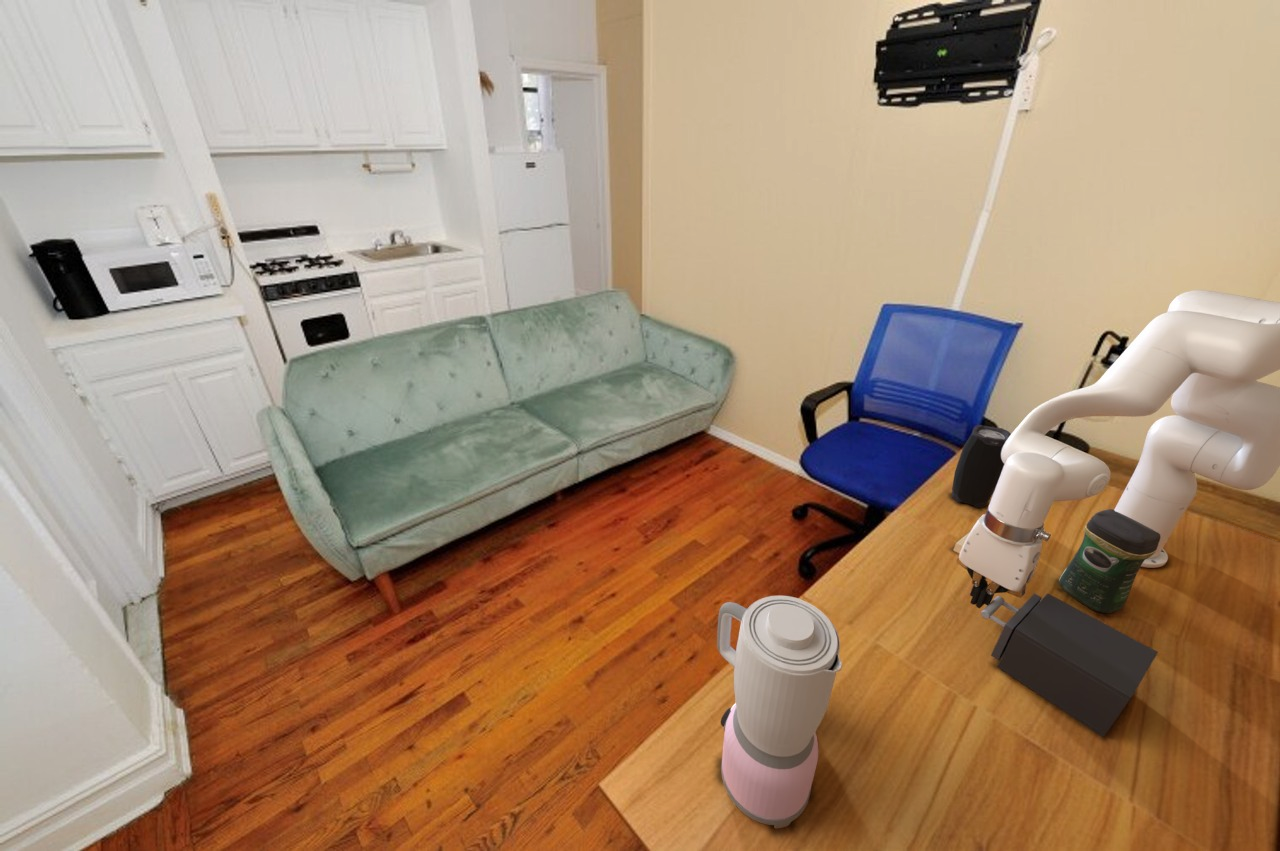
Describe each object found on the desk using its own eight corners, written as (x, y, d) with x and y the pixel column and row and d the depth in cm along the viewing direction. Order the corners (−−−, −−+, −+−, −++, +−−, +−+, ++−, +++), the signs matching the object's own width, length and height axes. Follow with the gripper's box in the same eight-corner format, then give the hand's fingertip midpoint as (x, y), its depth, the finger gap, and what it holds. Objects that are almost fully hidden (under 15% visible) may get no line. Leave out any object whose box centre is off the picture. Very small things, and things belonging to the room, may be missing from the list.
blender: (826, 780, 71) (870, 622, 56) (779, 854, 64) (816, 696, 48) (734, 704, 81) (751, 553, 66) (685, 761, 74) (691, 605, 58)
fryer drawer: (965, 638, 90) (978, 608, 86) (994, 609, 96) (1007, 578, 92) (1085, 717, 77) (1107, 685, 74) (1111, 677, 83) (1132, 645, 79)
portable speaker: (940, 490, 131) (961, 424, 122) (975, 488, 131) (998, 422, 122) (961, 511, 123) (986, 441, 114) (998, 508, 124) (1025, 439, 115)
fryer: (997, 667, 86) (1015, 628, 81) (1028, 630, 92) (1047, 593, 88) (1103, 737, 75) (1131, 697, 71) (1130, 691, 82) (1158, 651, 77)
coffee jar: (1129, 608, 96) (1176, 533, 88) (1100, 619, 94) (1145, 543, 85) (1076, 573, 104) (1114, 501, 96) (1049, 583, 102) (1085, 510, 94)
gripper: (1074, 538, 80) (1033, 619, 88) (974, 494, 91) (947, 569, 99) (1055, 558, 76) (1014, 640, 85) (953, 509, 87) (927, 586, 96)
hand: (978, 602), depth 92 cm, fingers closed
